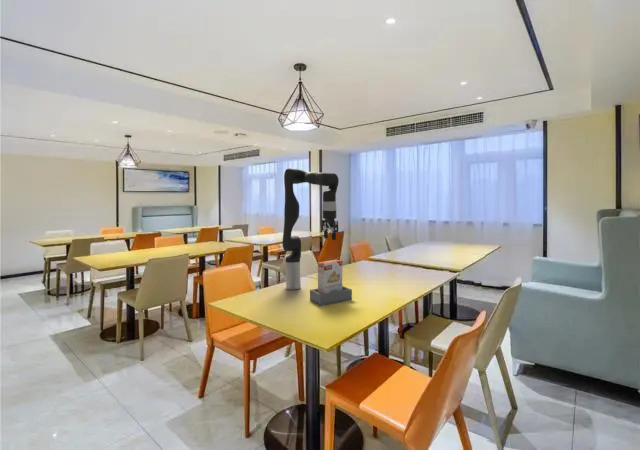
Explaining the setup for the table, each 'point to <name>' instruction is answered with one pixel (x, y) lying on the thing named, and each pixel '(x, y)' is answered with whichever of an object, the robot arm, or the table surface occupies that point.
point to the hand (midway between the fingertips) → (329, 239)
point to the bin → (331, 296)
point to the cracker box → (329, 276)
